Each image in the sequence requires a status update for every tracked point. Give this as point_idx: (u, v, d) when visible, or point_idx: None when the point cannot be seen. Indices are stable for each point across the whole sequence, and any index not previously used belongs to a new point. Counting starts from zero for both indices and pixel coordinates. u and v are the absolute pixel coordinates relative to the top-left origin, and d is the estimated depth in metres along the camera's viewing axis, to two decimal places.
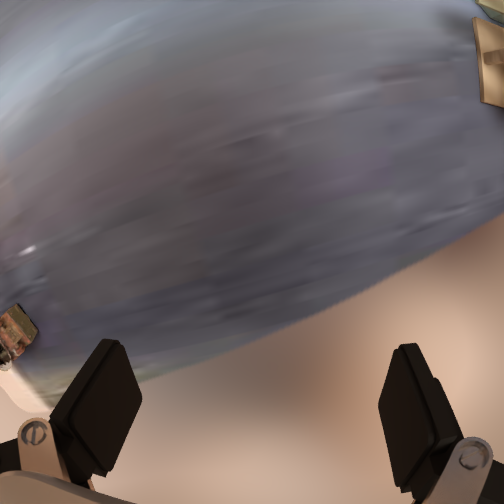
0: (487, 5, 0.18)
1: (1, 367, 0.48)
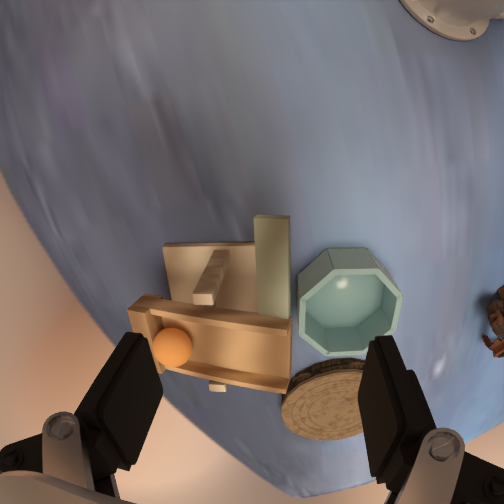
0: (256, 235, 0.22)
1: None
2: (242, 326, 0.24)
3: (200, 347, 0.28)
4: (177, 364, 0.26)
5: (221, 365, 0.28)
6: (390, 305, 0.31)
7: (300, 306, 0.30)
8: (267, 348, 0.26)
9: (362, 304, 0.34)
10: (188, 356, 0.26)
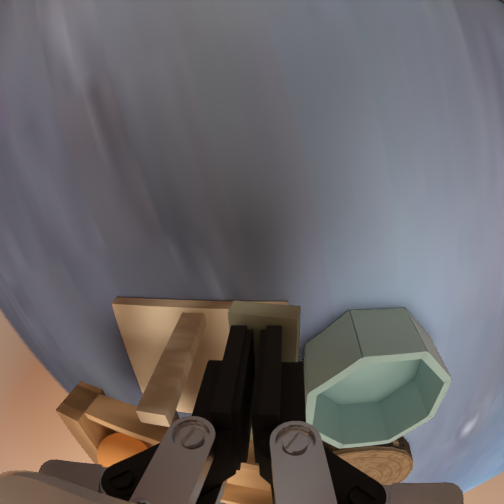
0: None
1: None
2: None
3: None
4: None
5: None
6: (430, 386, 0.20)
7: (308, 401, 0.19)
8: None
9: (390, 377, 0.23)
10: None
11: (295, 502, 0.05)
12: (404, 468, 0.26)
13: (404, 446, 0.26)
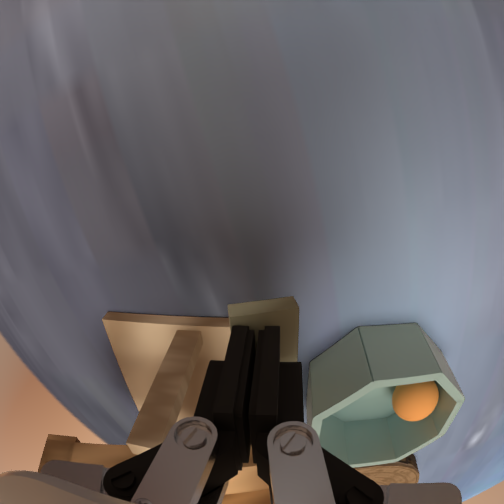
0: None
1: None
2: None
3: None
4: (401, 417, 0.18)
5: None
6: (441, 404, 0.18)
7: (313, 425, 0.17)
8: None
9: None
10: (417, 418, 0.17)
11: (292, 502, 0.05)
12: (410, 481, 0.24)
13: (410, 460, 0.24)
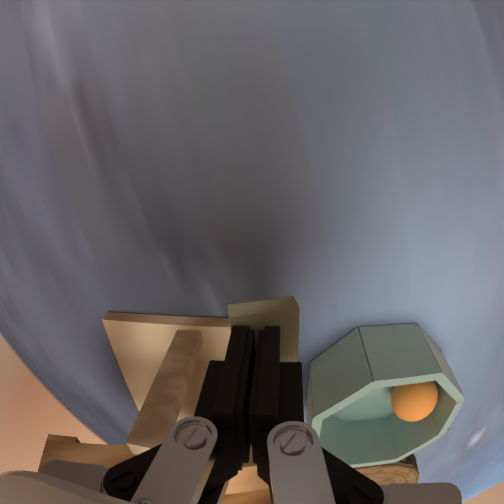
0: None
1: None
2: None
3: None
4: (400, 417, 0.18)
5: None
6: (441, 404, 0.18)
7: (313, 425, 0.17)
8: None
9: None
10: (415, 418, 0.17)
11: (292, 502, 0.05)
12: (410, 481, 0.24)
13: (410, 460, 0.24)
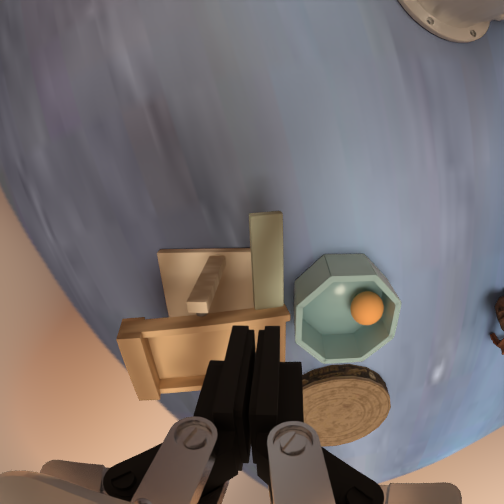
0: (252, 232, 0.24)
1: None
2: (247, 323, 0.25)
3: (194, 359, 0.27)
4: (356, 319, 0.31)
5: None
6: (388, 312, 0.30)
7: (297, 313, 0.29)
8: None
9: None
10: (365, 319, 0.30)
11: (292, 502, 0.05)
12: (383, 404, 0.37)
13: (380, 381, 0.37)
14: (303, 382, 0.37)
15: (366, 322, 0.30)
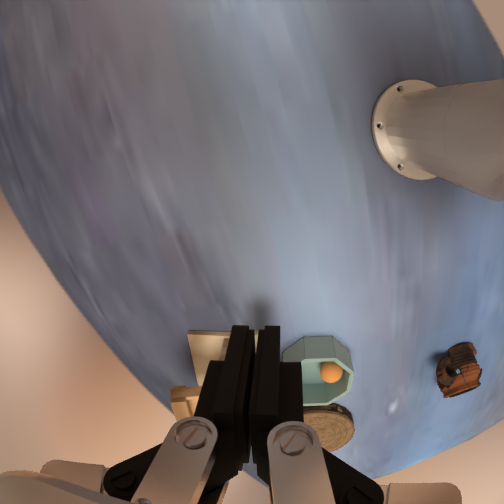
0: None
1: None
2: None
3: None
4: (322, 378, 0.45)
5: None
6: (346, 375, 0.44)
7: None
8: None
9: None
10: (328, 380, 0.44)
11: (292, 503, 0.05)
12: (348, 428, 0.51)
13: (346, 413, 0.50)
14: None
15: (328, 381, 0.44)
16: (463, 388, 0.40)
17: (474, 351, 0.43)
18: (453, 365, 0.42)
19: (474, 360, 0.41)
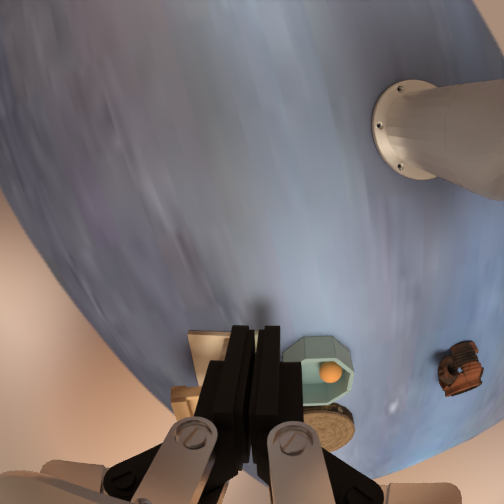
0: None
1: None
2: None
3: None
4: (321, 378, 0.45)
5: None
6: (347, 375, 0.44)
7: None
8: None
9: None
10: (326, 380, 0.44)
11: (292, 502, 0.05)
12: (349, 428, 0.51)
13: (346, 413, 0.50)
14: None
15: (327, 381, 0.44)
16: (465, 387, 0.40)
17: (476, 350, 0.42)
18: (454, 364, 0.42)
19: (476, 359, 0.41)
